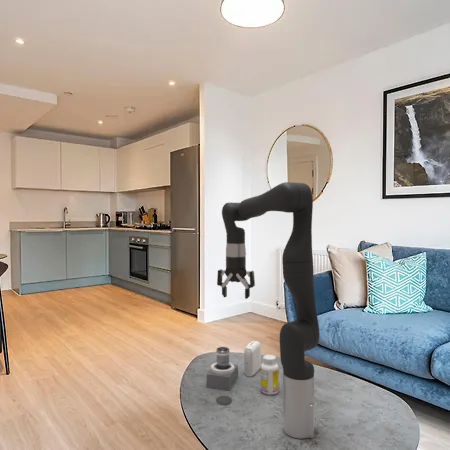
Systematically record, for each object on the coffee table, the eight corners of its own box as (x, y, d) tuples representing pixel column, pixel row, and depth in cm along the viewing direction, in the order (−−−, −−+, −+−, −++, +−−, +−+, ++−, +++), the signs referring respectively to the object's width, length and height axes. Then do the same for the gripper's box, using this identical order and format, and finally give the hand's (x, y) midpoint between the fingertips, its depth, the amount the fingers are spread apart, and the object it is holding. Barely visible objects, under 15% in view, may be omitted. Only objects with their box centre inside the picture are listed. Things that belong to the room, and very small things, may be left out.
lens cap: (233, 399, 130) (233, 397, 130) (229, 407, 125) (229, 404, 125) (218, 397, 132) (218, 395, 132) (213, 404, 127) (213, 402, 127)
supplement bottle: (278, 387, 139) (278, 353, 138) (279, 396, 132) (279, 360, 132) (260, 386, 139) (260, 353, 139) (260, 395, 133) (260, 360, 132)
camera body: (238, 377, 148) (238, 361, 147) (229, 390, 136) (229, 374, 136) (216, 374, 150) (216, 359, 150) (206, 387, 139) (206, 371, 139)
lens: (231, 367, 145) (231, 347, 145) (227, 372, 140) (227, 351, 140) (218, 366, 146) (218, 345, 146) (214, 371, 141) (214, 350, 141)
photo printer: (252, 377, 147) (252, 347, 147) (242, 375, 149) (242, 345, 149) (262, 368, 156) (262, 339, 156) (252, 366, 158) (252, 338, 158)
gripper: (214, 255, 137) (214, 298, 137) (251, 256, 133) (251, 301, 133) (221, 253, 144) (221, 294, 145) (256, 254, 140) (256, 296, 140)
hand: (235, 297), depth 139 cm, fingers open, 8 cm apart
